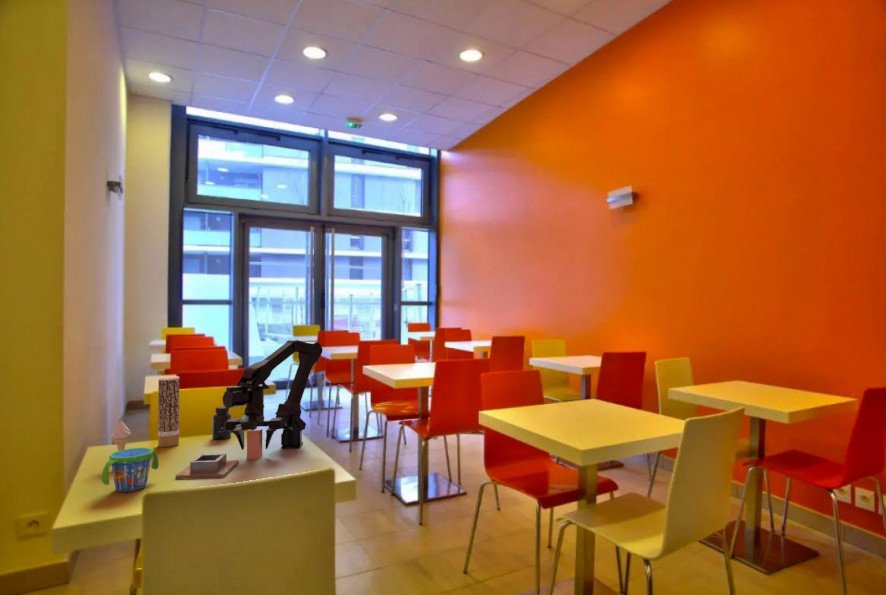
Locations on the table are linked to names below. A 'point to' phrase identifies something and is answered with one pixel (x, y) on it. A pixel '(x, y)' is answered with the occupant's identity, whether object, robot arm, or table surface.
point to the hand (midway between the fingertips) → (254, 449)
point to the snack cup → (130, 468)
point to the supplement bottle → (220, 423)
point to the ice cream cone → (121, 435)
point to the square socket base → (208, 467)
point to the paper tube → (168, 411)
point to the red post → (254, 443)
